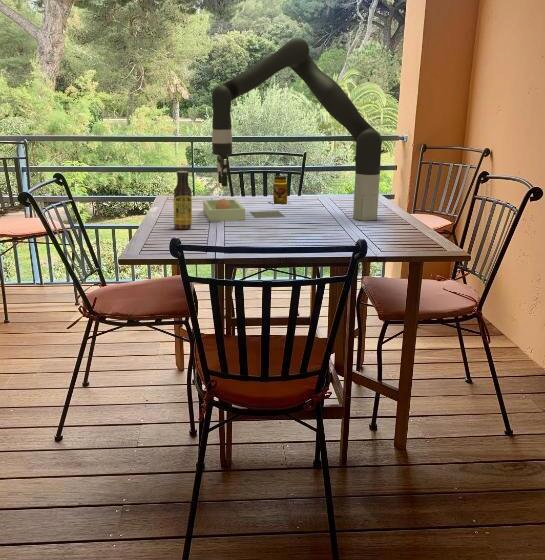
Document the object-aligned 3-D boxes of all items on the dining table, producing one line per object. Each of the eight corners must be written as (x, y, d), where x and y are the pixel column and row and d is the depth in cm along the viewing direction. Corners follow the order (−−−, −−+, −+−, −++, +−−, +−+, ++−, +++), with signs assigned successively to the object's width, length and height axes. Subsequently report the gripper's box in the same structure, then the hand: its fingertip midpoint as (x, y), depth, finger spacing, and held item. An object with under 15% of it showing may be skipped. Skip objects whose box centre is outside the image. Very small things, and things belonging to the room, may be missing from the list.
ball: (232, 215, 224) (231, 200, 222) (216, 216, 223) (216, 200, 221) (229, 212, 229) (229, 197, 228) (214, 213, 228) (214, 198, 226)
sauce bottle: (175, 230, 201) (172, 172, 195) (173, 226, 207) (170, 170, 201) (193, 229, 203) (191, 172, 197) (191, 225, 209) (189, 170, 203)
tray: (245, 220, 217) (245, 209, 216) (209, 222, 214) (209, 210, 213) (235, 209, 238) (235, 199, 236) (203, 211, 235) (203, 200, 234)
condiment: (276, 205, 248) (277, 177, 245) (267, 202, 255) (267, 175, 252) (291, 204, 252) (292, 176, 248) (282, 201, 259) (282, 174, 255)
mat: (285, 217, 224) (285, 216, 223) (254, 218, 221) (254, 217, 221) (278, 211, 235) (278, 210, 235) (249, 212, 232) (249, 211, 232)
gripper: (235, 143, 212) (235, 187, 217) (229, 140, 225) (229, 182, 230) (214, 143, 210) (215, 187, 215) (209, 140, 223) (211, 182, 228)
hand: (222, 184), depth 222 cm, fingers open, 8 cm apart
